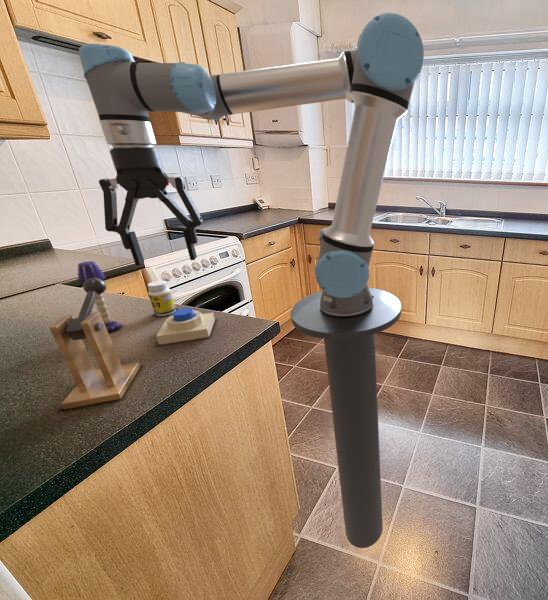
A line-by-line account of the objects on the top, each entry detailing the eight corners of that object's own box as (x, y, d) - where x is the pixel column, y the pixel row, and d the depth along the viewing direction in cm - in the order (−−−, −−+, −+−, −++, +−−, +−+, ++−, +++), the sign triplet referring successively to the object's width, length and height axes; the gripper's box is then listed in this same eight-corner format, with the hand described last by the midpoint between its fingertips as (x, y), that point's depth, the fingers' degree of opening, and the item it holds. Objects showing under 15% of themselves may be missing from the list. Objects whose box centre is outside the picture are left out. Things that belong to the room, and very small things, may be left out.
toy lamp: (115, 323, 84) (90, 259, 77) (128, 325, 83) (104, 260, 76) (94, 332, 80) (65, 265, 73) (107, 335, 78) (80, 267, 72)
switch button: (196, 313, 81) (194, 307, 80) (192, 320, 77) (190, 313, 76) (177, 316, 79) (175, 309, 79) (172, 323, 76) (170, 316, 75)
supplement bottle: (151, 314, 88) (141, 284, 85) (168, 307, 92) (159, 278, 89) (163, 317, 87) (153, 287, 83) (180, 310, 91) (171, 281, 87)
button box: (214, 320, 85) (211, 306, 83) (209, 337, 77) (204, 321, 76) (169, 326, 82) (164, 312, 80) (158, 344, 74) (153, 329, 73)
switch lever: (91, 287, 64) (81, 275, 62) (111, 285, 65) (102, 273, 63) (70, 342, 56) (59, 331, 54) (94, 339, 57) (83, 327, 55)
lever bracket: (91, 375, 64) (61, 310, 59) (140, 367, 67) (116, 304, 61) (63, 410, 56) (25, 337, 50) (120, 399, 58) (90, 328, 52)
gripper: (48, 146, 57) (97, 272, 66) (195, 146, 64) (221, 260, 73) (71, 147, 63) (113, 261, 73) (202, 147, 70) (225, 251, 79)
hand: (167, 260), depth 73 cm, fingers open, 9 cm apart
